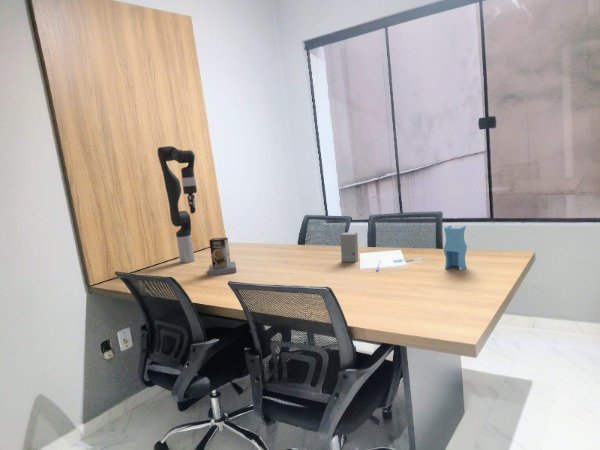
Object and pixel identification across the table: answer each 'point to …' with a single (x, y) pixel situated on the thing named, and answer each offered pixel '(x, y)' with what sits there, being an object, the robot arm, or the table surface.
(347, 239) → the skincare box
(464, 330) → the table surface
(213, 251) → the coffee box
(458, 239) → the vase
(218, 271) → the riser
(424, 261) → the table surface
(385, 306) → the table surface
